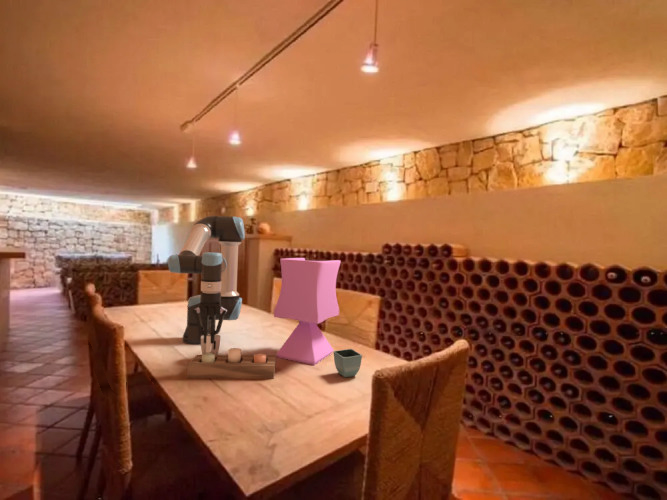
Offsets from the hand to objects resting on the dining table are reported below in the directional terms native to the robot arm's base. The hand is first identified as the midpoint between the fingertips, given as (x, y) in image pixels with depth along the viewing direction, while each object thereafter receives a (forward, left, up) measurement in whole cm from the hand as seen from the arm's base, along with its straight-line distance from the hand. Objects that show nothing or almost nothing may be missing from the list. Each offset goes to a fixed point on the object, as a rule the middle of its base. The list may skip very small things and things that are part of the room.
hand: (208, 351), depth 133 cm
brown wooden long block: (0, +10, -8) cm, 13 cm away
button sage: (0, 0, -5) cm, 5 cm away
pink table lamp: (-22, +39, -9) cm, 45 cm away
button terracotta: (0, +20, -5) cm, 21 cm away
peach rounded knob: (0, +10, -4) cm, 11 cm away
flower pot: (+2, +55, -9) cm, 56 cm away
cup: (-15, -3, -9) cm, 17 cm away
